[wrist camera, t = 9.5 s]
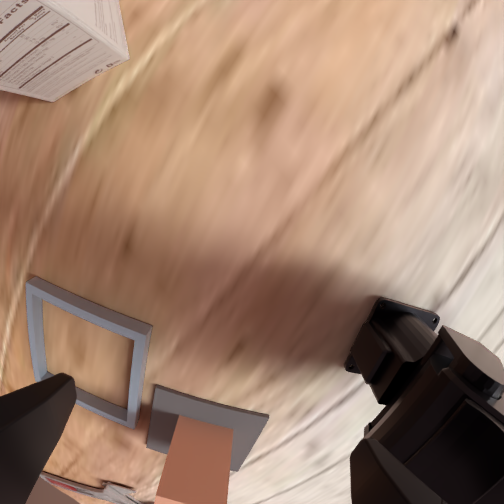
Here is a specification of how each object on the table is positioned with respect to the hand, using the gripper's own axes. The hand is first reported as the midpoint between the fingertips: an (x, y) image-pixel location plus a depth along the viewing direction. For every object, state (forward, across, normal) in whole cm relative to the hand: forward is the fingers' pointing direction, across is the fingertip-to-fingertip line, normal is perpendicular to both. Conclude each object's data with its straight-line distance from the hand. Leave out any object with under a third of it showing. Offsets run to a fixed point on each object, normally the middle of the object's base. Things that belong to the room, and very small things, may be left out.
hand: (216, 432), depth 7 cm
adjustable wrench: (+14, +16, +42) cm, 47 cm away
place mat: (+13, 0, +16) cm, 21 cm away
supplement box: (+13, +16, -15) cm, 25 cm away
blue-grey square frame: (+13, +12, +11) cm, 21 cm away
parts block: (+13, 0, +17) cm, 21 cm away
